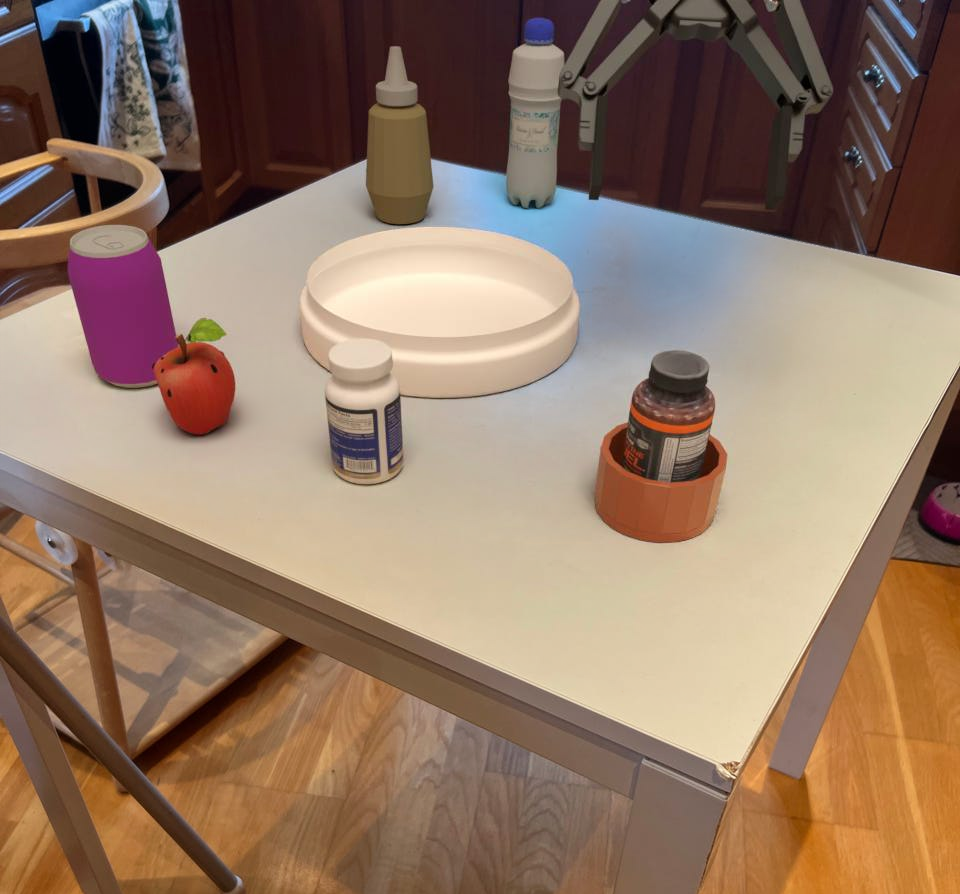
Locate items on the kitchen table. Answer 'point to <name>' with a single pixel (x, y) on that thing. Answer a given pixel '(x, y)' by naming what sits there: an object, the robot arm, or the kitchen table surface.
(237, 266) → the kitchen table surface
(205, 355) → the apple
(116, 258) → the beverage can
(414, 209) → the squeeze bottle
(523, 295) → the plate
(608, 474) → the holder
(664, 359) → the supplement bottle
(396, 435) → the pill bottle
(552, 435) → the kitchen table surface
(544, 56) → the bottle
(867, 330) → the kitchen table surface
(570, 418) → the kitchen table surface
